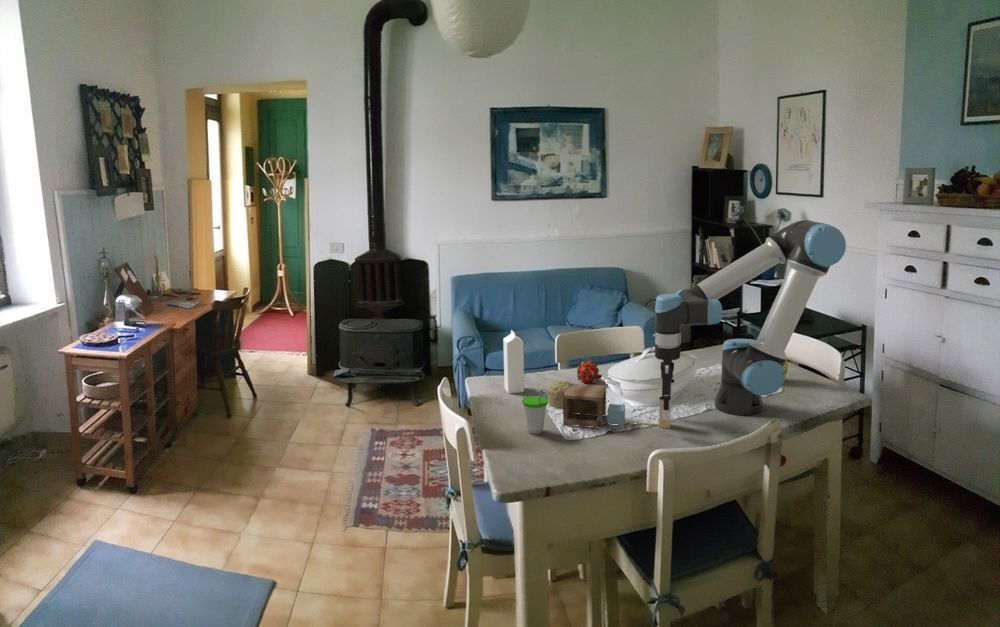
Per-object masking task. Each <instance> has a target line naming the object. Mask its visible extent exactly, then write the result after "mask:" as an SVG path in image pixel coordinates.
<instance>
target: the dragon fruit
mask: <svg viewBox="0 0 1000 627" xmlns="http://www.w3.org/2000/svg"><path fill="white" fill-rule="evenodd" d="M576 369H577V370H576V372H577V373H576V374H577V375H576V376H577V380H578V381H581V382H582V383H583V384H587V385H590V383H592V384H593V383H595V382H596V381H597V380H599V379H601V378H602V377H603V376H602V374H600V370H599V367H598V364H597V363H596V362H595V363H594V362H592V361H591V360H584V361H582V362H581V363H580V364H578V366H577V367H576Z"/></svg>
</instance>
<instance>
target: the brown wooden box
mask: <svg viewBox="0 0 1000 627" xmlns="http://www.w3.org/2000/svg"><path fill="white" fill-rule="evenodd" d="M606 409H607V385H600V384H589V385H588V384H584V383H583V384H582V383H571V382H570V383H569V385H568V387H567V389H566V391H565V393H564V395H563V408H562V410H563V413H562V414H563V415H562V416H563V418H562V420H563V422H562V423H563V424H562V425H563V426H568V425H579V426H578V427H581V426H593V427H602V428H603V416H602V415H607V410H606ZM572 413H580V414H579V415H584V414H591V415H590V416H597V419H585V418H584V419H583V418H572V416H573V414H572ZM571 415H572V416H571ZM570 417H571V418H570ZM593 427H592V428H593Z"/></svg>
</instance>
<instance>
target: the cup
mask: <svg viewBox="0 0 1000 627" xmlns="http://www.w3.org/2000/svg"><path fill="white" fill-rule="evenodd" d="M543 392H544V389H541V390H539V392H538V395H530V396H527V397H524V398H523V399H522V401H521V404H522V405H523V407H524V415H525V421H526V428H527V432H528V434H530V435H536V436H537V435H541V434H543V432H544V427H545V426H544V425H545V418H546V410H547V405H549V404H548V402H549V401H548V398H547V397H544V396H541V395H542V393H543Z"/></svg>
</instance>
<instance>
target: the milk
mask: <svg viewBox="0 0 1000 627" xmlns="http://www.w3.org/2000/svg"><path fill="white" fill-rule="evenodd" d="M502 340H503V345H502V346H503V372H504V373H503V374H504V375H503V376H504V381H503V382H504V387H503V388H504V389H506V390H505V391H506V392H507V394H508V393H509V394H517V393H524V392H525V368H524V366H525V362H524V361H525V360H524V355H525V353H524V341H523V340H522V339H521V337H519V336H517V335H516V333H515V332H514V331H513V329H511V330H510V334H508V335H506V336H505V337H504V338H503V339H502Z"/></svg>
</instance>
